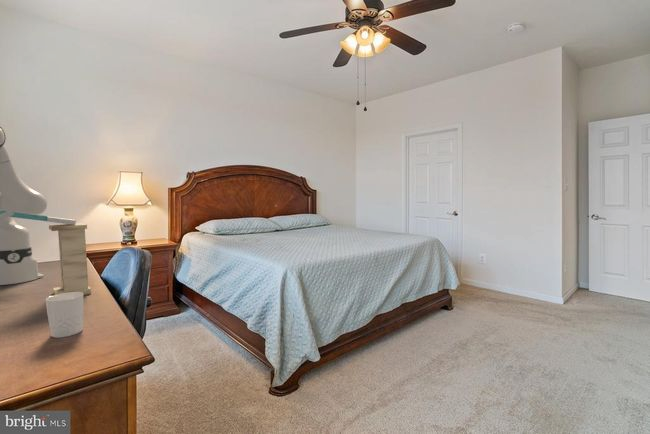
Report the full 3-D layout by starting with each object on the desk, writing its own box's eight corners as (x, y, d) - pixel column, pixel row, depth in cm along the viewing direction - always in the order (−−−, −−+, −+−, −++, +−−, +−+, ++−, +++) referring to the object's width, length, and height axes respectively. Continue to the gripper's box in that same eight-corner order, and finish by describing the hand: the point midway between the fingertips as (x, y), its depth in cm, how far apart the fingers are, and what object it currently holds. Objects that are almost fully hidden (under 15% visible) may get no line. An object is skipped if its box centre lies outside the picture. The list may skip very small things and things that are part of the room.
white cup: (92, 328, 90) (90, 293, 89) (61, 340, 83) (58, 302, 82) (72, 325, 93) (70, 290, 92) (40, 336, 85) (38, 299, 85)
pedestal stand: (53, 292, 124) (48, 224, 122) (85, 287, 131) (81, 222, 129) (56, 299, 116) (51, 226, 114) (91, 293, 123) (86, 224, 121)
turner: (-1, 216, 106) (0, 210, 106) (-1, 215, 112) (0, 209, 112) (75, 224, 120) (76, 220, 120) (72, 223, 126) (73, 219, 126)
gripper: (-51, 229, 95) (5, 204, 102) (-43, 225, 109) (5, 203, 117) (-33, 246, 97) (20, 220, 105) (-28, 240, 112) (18, 218, 120)
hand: (12, 211), depth 111 cm, fingers closed on turner, 2 cm apart
